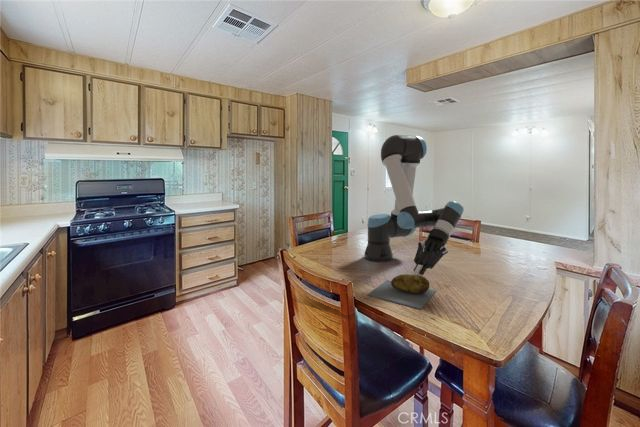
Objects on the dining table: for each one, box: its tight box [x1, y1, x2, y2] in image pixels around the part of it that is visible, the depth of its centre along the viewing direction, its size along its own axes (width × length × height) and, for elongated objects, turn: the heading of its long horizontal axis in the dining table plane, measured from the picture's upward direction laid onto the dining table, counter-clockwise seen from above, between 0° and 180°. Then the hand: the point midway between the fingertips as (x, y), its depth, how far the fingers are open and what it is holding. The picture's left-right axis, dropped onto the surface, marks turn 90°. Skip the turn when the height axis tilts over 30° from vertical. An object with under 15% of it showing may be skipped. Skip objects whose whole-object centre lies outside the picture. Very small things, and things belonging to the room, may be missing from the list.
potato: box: [391, 273, 430, 293], centre depth 108 cm, size 8×13×8 cm
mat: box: [366, 279, 437, 310], centre depth 108 cm, size 20×18×1 cm
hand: (414, 280), depth 113 cm, fingers closed
